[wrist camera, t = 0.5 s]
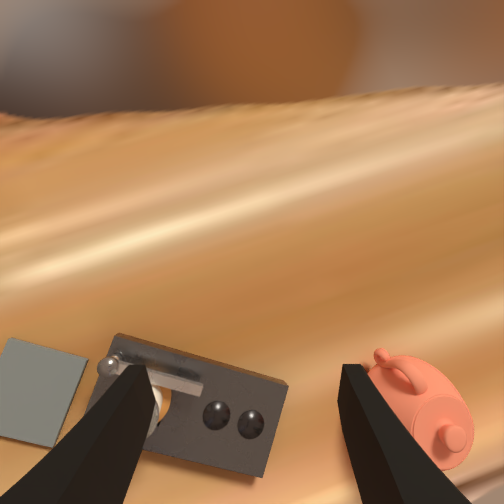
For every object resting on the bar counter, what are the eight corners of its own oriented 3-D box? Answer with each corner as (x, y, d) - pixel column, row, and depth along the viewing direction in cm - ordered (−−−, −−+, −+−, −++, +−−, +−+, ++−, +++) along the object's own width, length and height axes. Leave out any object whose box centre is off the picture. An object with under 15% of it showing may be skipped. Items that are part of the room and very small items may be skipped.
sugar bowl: (371, 470, 38) (434, 537, 28) (325, 366, 38) (372, 395, 28) (446, 419, 40) (529, 464, 30) (403, 323, 41) (471, 336, 31)
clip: (198, 391, 33) (198, 402, 30) (103, 365, 31) (93, 374, 28) (203, 374, 33) (204, 384, 30) (110, 348, 32) (101, 355, 29)
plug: (162, 421, 34) (154, 459, 27) (112, 408, 33) (89, 444, 26) (179, 371, 35) (176, 394, 27) (131, 357, 34) (114, 378, 27)
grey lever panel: (258, 467, 35) (262, 478, 33) (84, 424, 32) (76, 434, 30) (283, 380, 37) (289, 386, 35) (119, 332, 34) (114, 335, 32)
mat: (55, 444, 32) (52, 447, 31) (-27, 425, 31) (-31, 428, 30) (88, 358, 33) (86, 360, 33) (11, 337, 32) (8, 338, 31)
